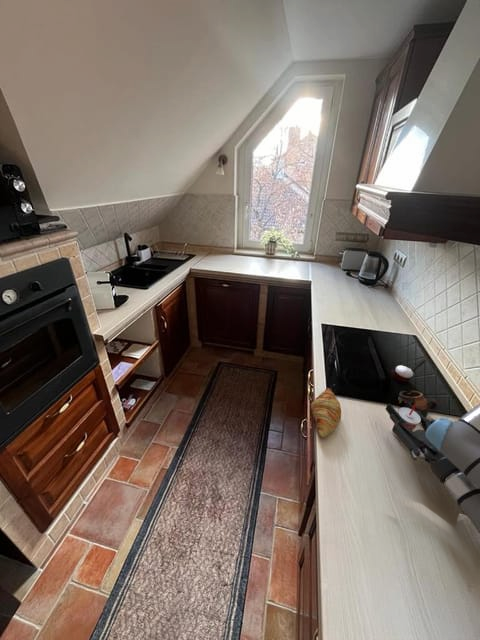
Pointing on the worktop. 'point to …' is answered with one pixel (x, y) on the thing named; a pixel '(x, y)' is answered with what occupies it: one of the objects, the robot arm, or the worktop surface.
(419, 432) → the slate coaster
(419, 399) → the pottery mug
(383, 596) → the worktop surface
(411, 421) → the beverage cup
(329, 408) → the croissant
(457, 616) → the worktop surface
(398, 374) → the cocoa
